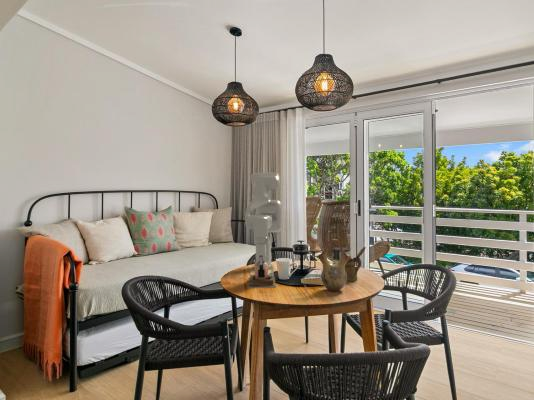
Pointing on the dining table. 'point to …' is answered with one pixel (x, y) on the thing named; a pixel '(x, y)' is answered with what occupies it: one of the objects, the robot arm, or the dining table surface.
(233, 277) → the dining table surface
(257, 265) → the jug
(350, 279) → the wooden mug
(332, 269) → the ceramic vessel
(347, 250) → the coffee can
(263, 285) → the jug stand
